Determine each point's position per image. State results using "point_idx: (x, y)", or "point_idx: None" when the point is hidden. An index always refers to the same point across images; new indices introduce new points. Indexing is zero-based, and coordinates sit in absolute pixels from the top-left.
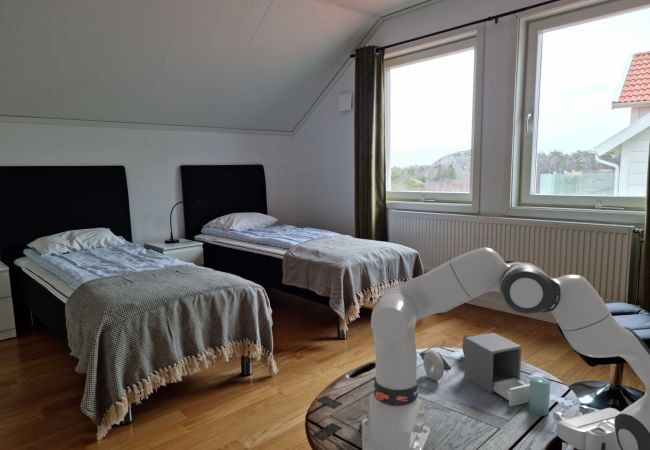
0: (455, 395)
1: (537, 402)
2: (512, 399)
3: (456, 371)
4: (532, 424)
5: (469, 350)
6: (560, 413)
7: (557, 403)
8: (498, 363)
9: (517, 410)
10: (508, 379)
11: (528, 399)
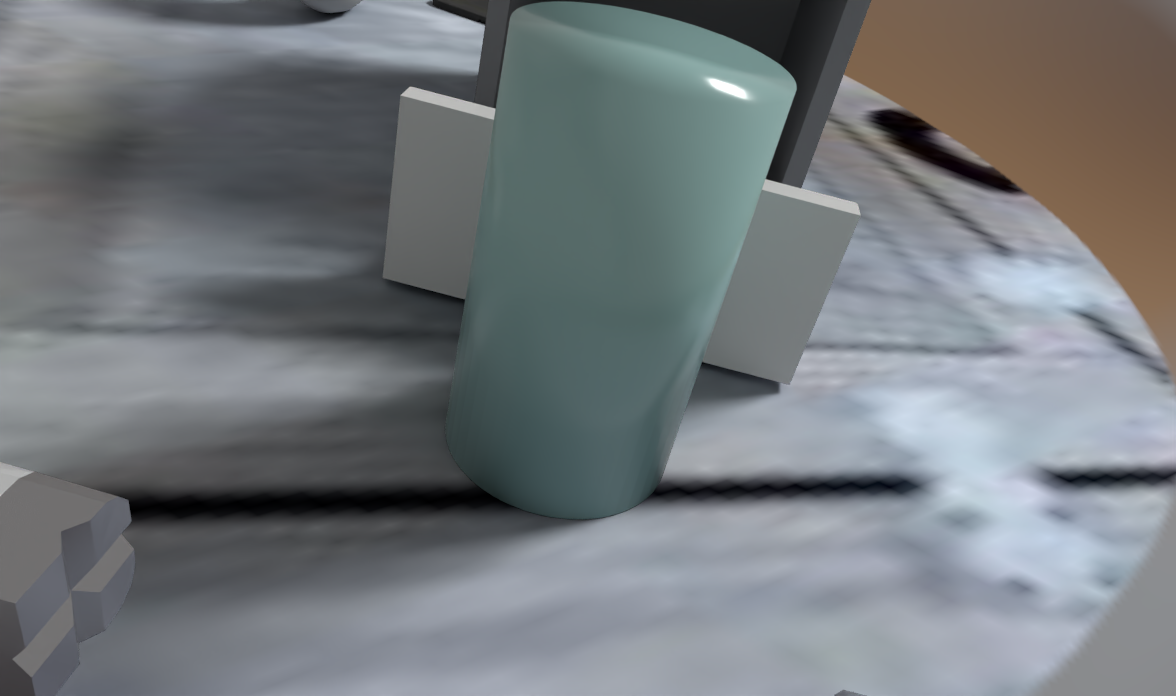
0: (221, 75)
1: (475, 311)
2: (406, 214)
3: None
4: (169, 494)
5: None
6: (10, 551)
7: (898, 497)
8: (785, 68)
9: (375, 327)
10: None
11: None
